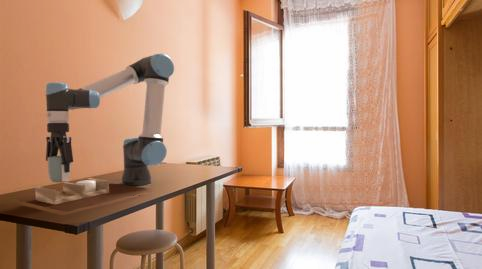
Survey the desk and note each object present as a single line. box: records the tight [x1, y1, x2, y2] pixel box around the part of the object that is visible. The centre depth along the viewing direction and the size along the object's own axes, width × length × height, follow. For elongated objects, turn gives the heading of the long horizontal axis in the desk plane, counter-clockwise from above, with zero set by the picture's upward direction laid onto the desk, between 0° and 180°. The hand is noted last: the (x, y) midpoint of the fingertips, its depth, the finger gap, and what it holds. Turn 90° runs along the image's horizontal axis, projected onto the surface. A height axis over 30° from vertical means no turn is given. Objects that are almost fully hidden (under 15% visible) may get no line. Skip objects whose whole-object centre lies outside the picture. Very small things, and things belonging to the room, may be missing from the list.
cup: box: [47, 155, 66, 183], centre depth 126 cm, size 8×8×10 cm
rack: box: [34, 177, 110, 205], centre depth 131 cm, size 23×14×6 cm, turn 148°
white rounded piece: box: [75, 179, 96, 193], centre depth 136 cm, size 8×8×5 cm
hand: (59, 179), depth 126 cm, fingers closed on cup, 8 cm apart
